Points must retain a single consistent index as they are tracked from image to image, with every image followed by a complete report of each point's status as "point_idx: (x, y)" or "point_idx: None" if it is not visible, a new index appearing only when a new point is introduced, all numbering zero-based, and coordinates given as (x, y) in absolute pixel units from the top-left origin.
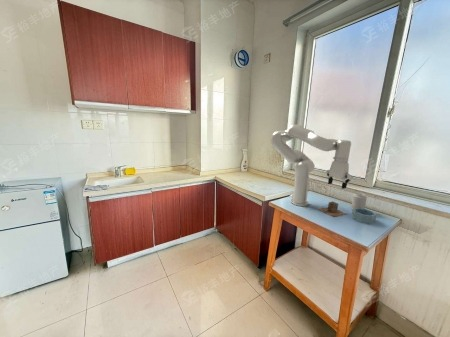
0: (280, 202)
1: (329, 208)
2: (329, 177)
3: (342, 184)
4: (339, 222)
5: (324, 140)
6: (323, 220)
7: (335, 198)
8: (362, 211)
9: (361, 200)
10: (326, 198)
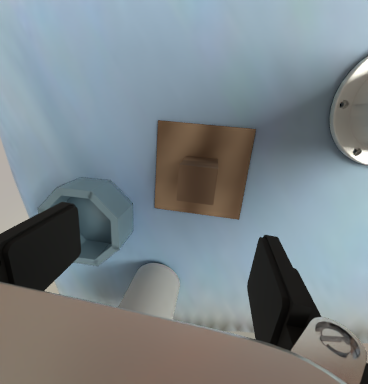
0: None
1: (207, 160)
2: (308, 329)
3: (29, 226)
4: (113, 88)
5: None
6: (158, 24)
7: None
8: (107, 247)
9: (120, 307)
10: None
